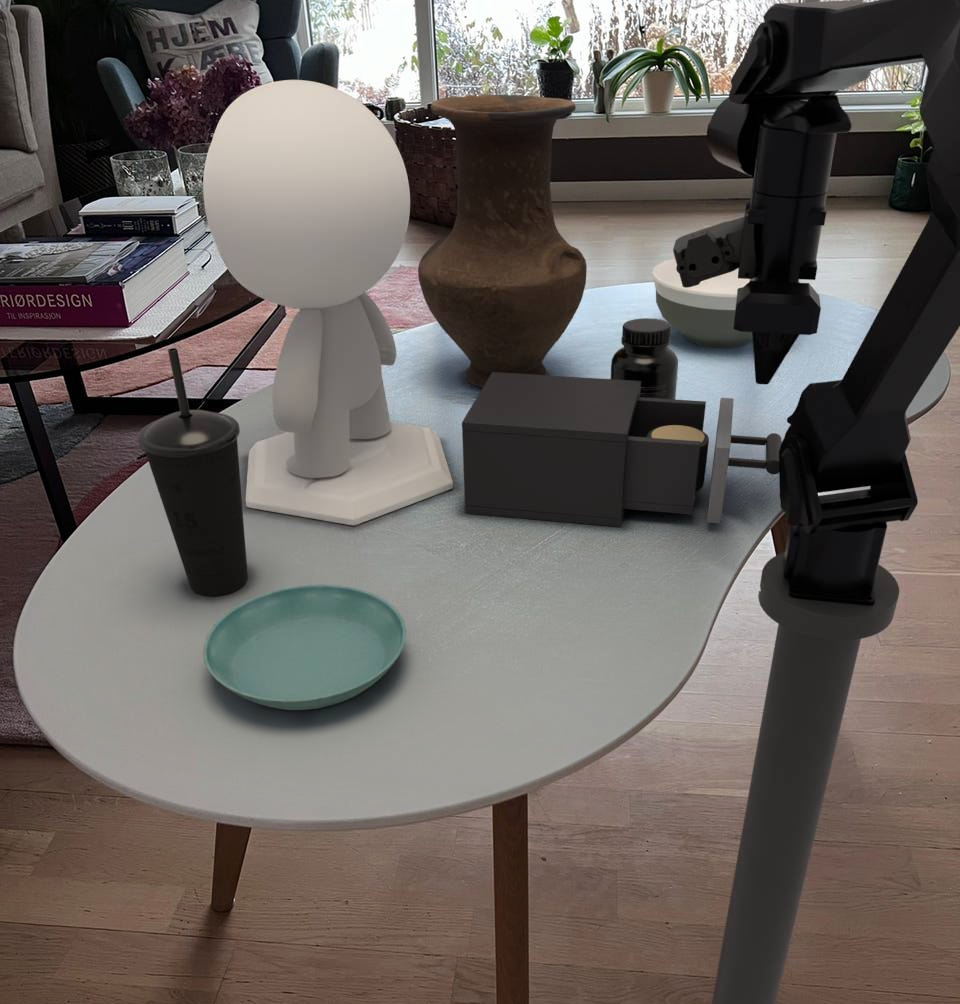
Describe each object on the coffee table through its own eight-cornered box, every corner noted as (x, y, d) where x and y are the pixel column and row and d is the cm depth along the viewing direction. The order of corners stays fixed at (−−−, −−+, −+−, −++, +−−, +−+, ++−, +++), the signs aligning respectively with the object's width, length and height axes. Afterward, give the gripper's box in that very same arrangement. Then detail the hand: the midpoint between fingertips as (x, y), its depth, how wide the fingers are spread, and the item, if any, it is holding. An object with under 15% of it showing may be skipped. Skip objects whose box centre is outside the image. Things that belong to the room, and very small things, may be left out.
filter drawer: (774, 472, 99) (785, 401, 95) (774, 528, 90) (787, 452, 86) (587, 458, 103) (590, 389, 98) (570, 510, 94) (572, 436, 89)
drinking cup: (186, 558, 90) (137, 333, 78) (272, 558, 90) (235, 332, 78) (161, 605, 84) (104, 368, 72) (253, 605, 83) (211, 367, 72)
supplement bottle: (679, 429, 110) (690, 318, 103) (661, 454, 105) (671, 339, 98) (619, 420, 113) (625, 311, 106) (598, 444, 108) (603, 331, 101)
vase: (615, 381, 122) (631, 100, 105) (482, 420, 113) (475, 121, 96) (520, 339, 135) (520, 84, 118) (395, 371, 127) (375, 101, 109)
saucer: (188, 731, 70) (181, 701, 69) (230, 613, 82) (225, 585, 81) (402, 727, 70) (399, 697, 69) (413, 609, 82) (411, 581, 81)
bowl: (632, 318, 142) (636, 256, 137) (763, 310, 143) (771, 249, 138) (667, 365, 126) (673, 298, 122) (813, 356, 128) (825, 289, 123)
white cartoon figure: (297, 421, 114) (250, 65, 94) (489, 448, 107) (481, 69, 87) (195, 499, 99) (113, 94, 79) (410, 536, 92) (380, 101, 72)
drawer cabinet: (635, 467, 103) (641, 380, 98) (620, 527, 93) (626, 433, 88) (493, 457, 106) (492, 371, 100) (464, 513, 96) (461, 422, 90)
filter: (705, 471, 97) (710, 425, 95) (702, 498, 93) (707, 450, 90) (646, 466, 98) (649, 421, 96) (640, 492, 94) (644, 446, 91)
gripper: (691, 165, 89) (676, 341, 98) (676, 214, 74) (659, 417, 83) (825, 167, 87) (796, 348, 96) (836, 219, 72) (801, 427, 81)
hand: (762, 382), depth 89 cm, fingers closed
